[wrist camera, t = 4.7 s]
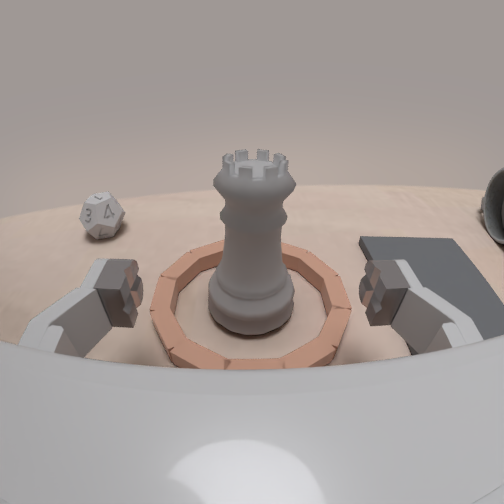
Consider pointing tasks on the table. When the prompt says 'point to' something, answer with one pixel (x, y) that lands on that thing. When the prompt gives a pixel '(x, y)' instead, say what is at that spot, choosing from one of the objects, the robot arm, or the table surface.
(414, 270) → the charcoal mat
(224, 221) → the rook chess piece
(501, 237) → the ceramic mug
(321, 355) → the terracotta ring
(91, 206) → the game die
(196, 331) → the table surface
